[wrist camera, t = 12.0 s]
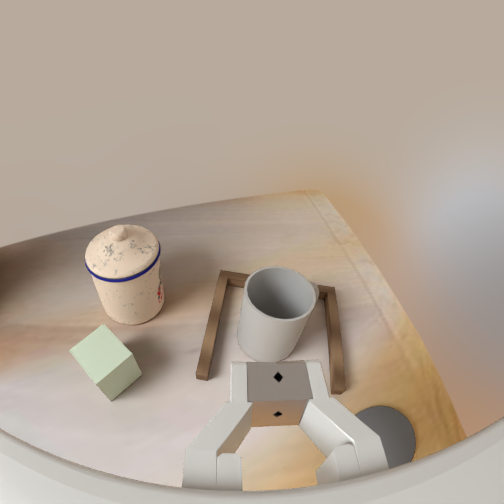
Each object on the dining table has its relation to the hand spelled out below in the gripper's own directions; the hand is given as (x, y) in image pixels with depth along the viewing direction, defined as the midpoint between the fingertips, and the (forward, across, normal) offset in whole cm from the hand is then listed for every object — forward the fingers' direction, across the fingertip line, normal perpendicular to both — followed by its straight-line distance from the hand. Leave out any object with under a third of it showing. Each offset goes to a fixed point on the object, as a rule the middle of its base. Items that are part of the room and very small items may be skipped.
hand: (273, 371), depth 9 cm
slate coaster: (+4, -14, +22) cm, 26 cm away
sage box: (+11, +15, +17) cm, 26 cm away
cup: (+19, -3, +17) cm, 26 cm away
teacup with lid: (+23, +16, +15) cm, 32 cm away
